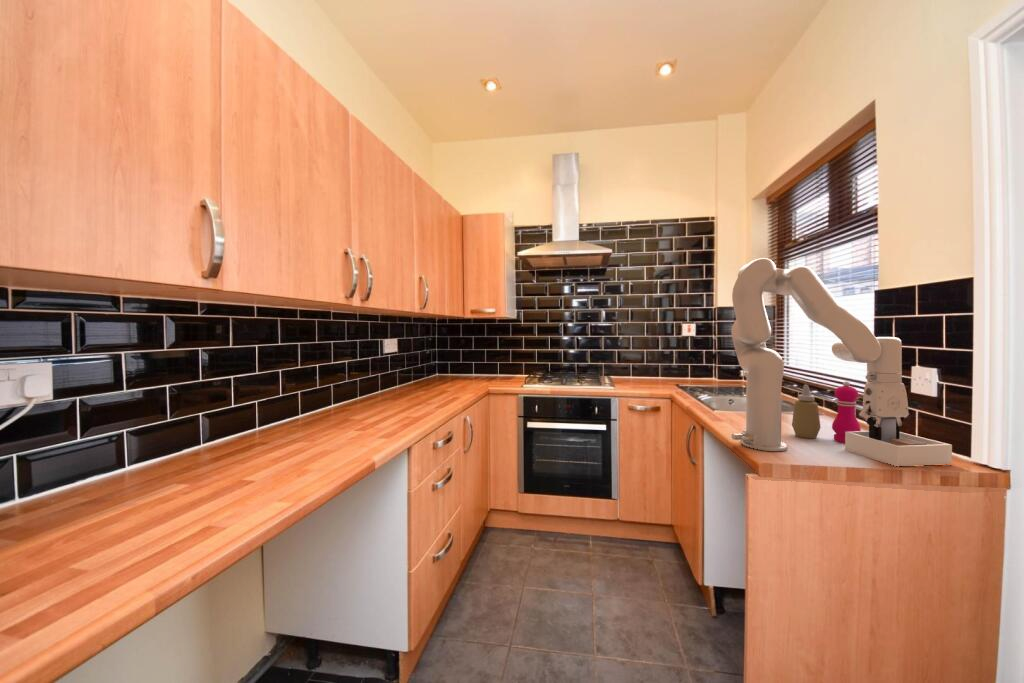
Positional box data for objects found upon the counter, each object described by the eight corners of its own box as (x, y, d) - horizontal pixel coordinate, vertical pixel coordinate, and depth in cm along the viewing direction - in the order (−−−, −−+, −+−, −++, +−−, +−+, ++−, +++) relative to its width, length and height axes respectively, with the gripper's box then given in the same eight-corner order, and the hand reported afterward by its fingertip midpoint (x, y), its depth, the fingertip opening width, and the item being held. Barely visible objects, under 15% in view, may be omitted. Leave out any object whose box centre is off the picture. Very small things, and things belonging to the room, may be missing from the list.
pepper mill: (826, 439, 132) (826, 380, 131) (841, 437, 134) (841, 379, 133) (850, 445, 125) (851, 383, 124) (866, 443, 127) (866, 382, 126)
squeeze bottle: (826, 438, 133) (827, 386, 133) (809, 440, 131) (809, 387, 130) (802, 432, 141) (803, 383, 140) (786, 434, 139) (786, 384, 138)
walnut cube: (909, 462, 107) (909, 444, 107) (890, 456, 112) (890, 439, 112) (926, 461, 108) (926, 443, 107) (906, 455, 113) (907, 438, 112)
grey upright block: (868, 439, 119) (868, 416, 119) (883, 438, 119) (883, 415, 119) (884, 443, 114) (884, 420, 114) (900, 443, 114) (900, 419, 114)
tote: (897, 467, 105) (897, 446, 105) (845, 449, 121) (845, 431, 121) (951, 465, 106) (952, 444, 106) (892, 447, 122) (892, 430, 121)
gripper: (869, 380, 112) (869, 443, 113) (924, 378, 113) (924, 441, 113) (845, 377, 120) (845, 436, 120) (897, 376, 120) (897, 434, 121)
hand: (884, 438), depth 117 cm, fingers closed on grey upright block, 5 cm apart
